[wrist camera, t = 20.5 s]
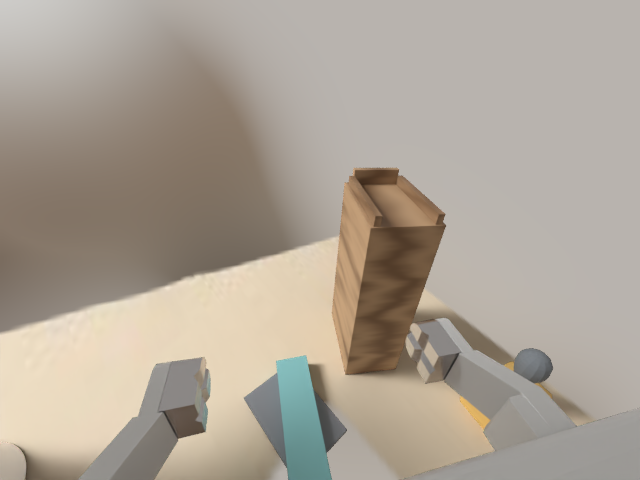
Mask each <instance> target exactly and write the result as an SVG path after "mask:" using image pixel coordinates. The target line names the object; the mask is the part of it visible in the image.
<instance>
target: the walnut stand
mask: <svg viewBox="0 0 640 480" xmlns="http://www.w3.org/2000/svg"><path fill="white" fill-rule="evenodd" d="M398 172H399V169H398V168H354V169H353V176H349V182H348V183H345V186H344V196H343V206H342V216H341V226H340V236H339V246H338V257H337V267H336V277H335V287H334V297H333V308H332V316H333V320H334V325H335V329H336V334H337V338H338V343H339V347H340V352H341V356H342V361H343V365H344V370H345V374H355V373H364V372H372V371H381V370H390V369H396V366H397V363H398V360H399V358H400V355H401V352H402V349H403V346H404V343H405V341H406V337H407V335H408V332H409V329H410V326H411V324H412V321H413V318H414V315H415V312H416V309H417V306H418V304H419V301H420V298H421V295H422V292H423V289H424V287H425V284H426V281H427V278H428V275H429V272H430V270H431V267H432V264H433V261H434V258H435V255H436V252H437V250H438V247H439V244H440V241H441V238H442V235H443V232H444V229H445V227H446V225H445V224H444V223H443V220H444V216H445V213H444V212H442V211H441V210H440V209H439V208H438V207H437V206H436V205H435V204H433V203H432V202H431V201H430V200H429V199H428V198H427V197H426V196H425V195H423V194H422V193H421V192H420V191H419V190H418V189H417V188H416V187H414V186H413V185H412V184H411V183H410V182H409V181H408V180H407V179H406V178H404V177H403V176H398Z"/></svg>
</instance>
